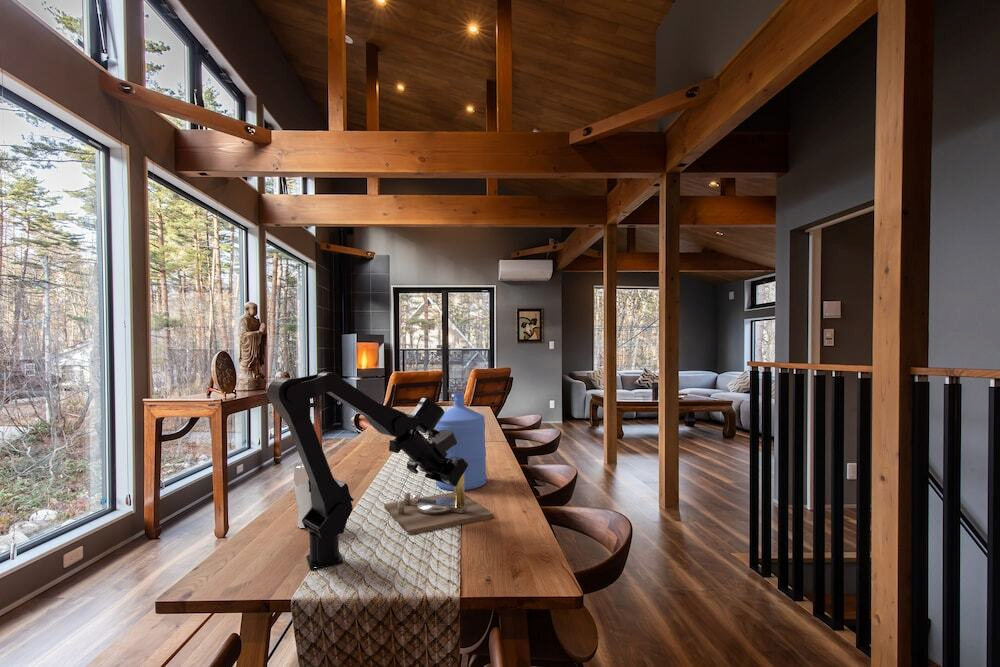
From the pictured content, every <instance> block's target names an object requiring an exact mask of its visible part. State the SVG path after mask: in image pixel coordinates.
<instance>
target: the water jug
mask: <svg viewBox="0 0 1000 667" xmlns="http://www.w3.org/2000/svg"><path fill="white" fill-rule="evenodd" d="M453 394H454V399H453V400H454V401H453V402H454V405H453V407H451V408H450V409H447V410H446V411H444V412H445V413H444V415H443V416H442V418H441V419H440V421H439V422H438V423H437V425H436V426H435V428H434V430H437V431H439V430H449V431H453V433H454V435H455V438H456V440H457V444H456V445H454V446H452V447H451V448H450V449H449V450H447V451H445V452H446V453H447V456H446V457H445V458H449V459H450V458H451V457H458V458H462V459H464V460H465V461H466V462H467V463H468V467H467V469H466V470H465V472H464V486H465V491H469V490H474V489H475V490H476V489H478V488H480V487H482V486H484V485H485V484H487V479H488V478H487V477H488V476H487V472H486V471H487V469H486V468H487V467H486V466H487V465H486V464H487V462H486V460H487V459H486V456H487V449H486V421H485V420H486V418H485V416H484V414H482V413H479V412H478V411H475V410H474V409H471V408H468V406H466V404H465V402H466V401H465V393H463V392H456V393H453ZM435 484H436V485H437V487H438V488H441V489H443V490H447V491H454V486H451V485H448V484H445V483H442V482H439V481H435Z"/></svg>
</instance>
